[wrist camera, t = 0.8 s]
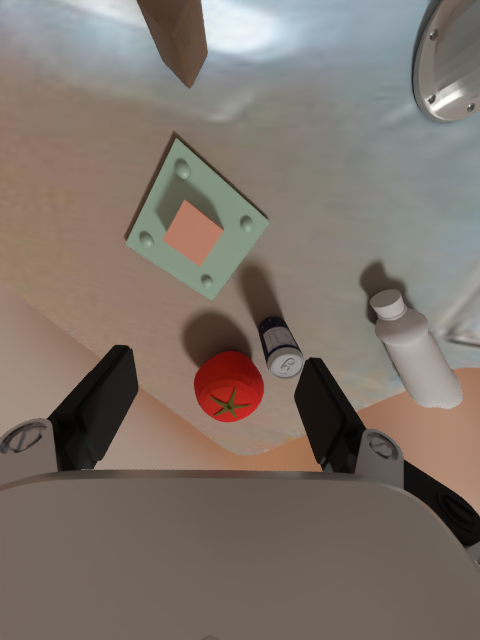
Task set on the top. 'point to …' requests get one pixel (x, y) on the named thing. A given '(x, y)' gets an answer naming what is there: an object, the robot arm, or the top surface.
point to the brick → (192, 233)
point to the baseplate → (211, 198)
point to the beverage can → (280, 348)
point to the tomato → (228, 386)
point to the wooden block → (177, 35)
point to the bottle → (415, 352)
